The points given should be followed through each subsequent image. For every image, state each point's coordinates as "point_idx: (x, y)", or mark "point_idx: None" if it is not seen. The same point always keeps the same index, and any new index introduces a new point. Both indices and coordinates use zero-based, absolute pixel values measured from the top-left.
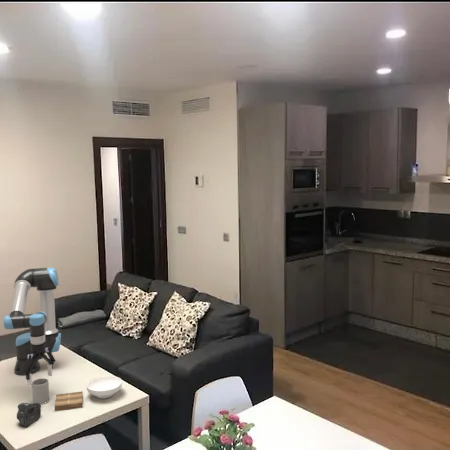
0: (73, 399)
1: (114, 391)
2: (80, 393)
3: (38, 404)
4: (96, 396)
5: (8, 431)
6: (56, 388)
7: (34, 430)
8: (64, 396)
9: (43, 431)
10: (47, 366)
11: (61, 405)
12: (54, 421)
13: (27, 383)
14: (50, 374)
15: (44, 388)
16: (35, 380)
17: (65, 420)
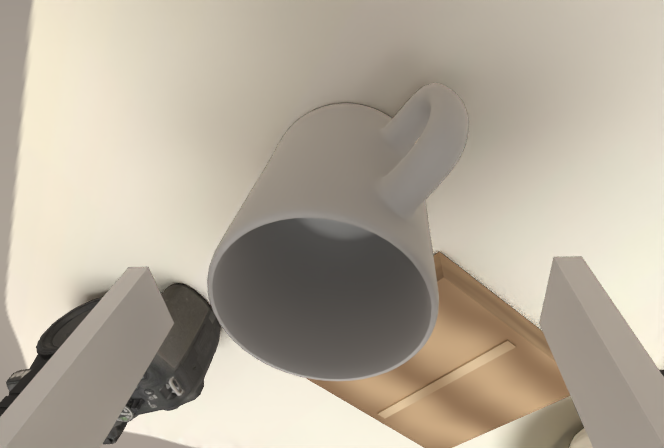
0: (445, 406)
1: None
2: (548, 394)
3: (172, 409)
4: (576, 437)
5: (25, 313)
6: (649, 70)
7: None
8: (451, 343)
9: (170, 418)
10: (654, 434)
11: (342, 398)
12: (248, 406)
13: (119, 282)
14: (552, 335)
15: (323, 332)
16: (307, 214)
17: (289, 432)
